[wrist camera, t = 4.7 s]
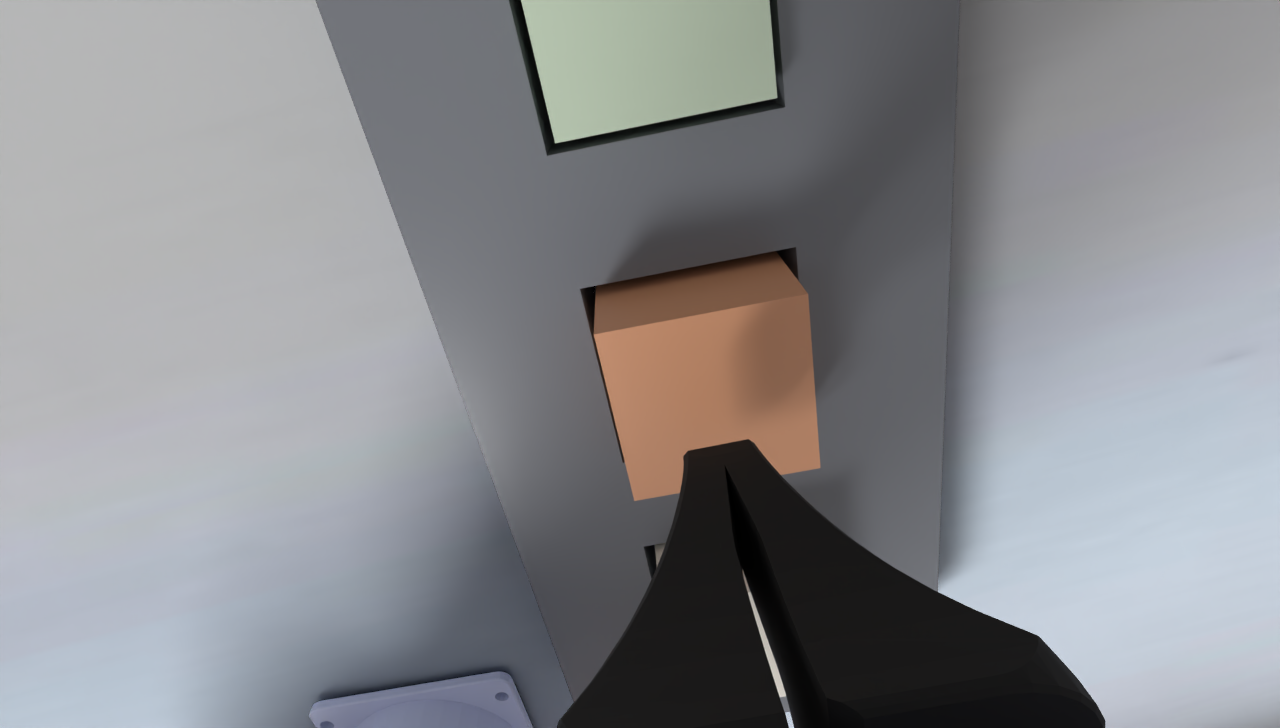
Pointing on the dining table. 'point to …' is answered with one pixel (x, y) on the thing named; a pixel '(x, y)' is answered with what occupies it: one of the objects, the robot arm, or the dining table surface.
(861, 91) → the button panel
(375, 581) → the dining table surface
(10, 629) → the dining table surface
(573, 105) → the sage button
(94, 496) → the dining table surface
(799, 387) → the rust button
